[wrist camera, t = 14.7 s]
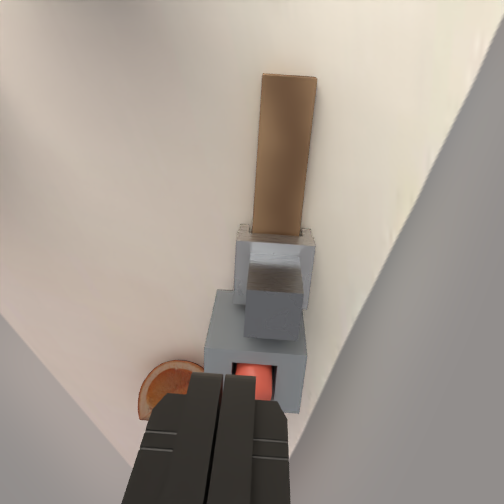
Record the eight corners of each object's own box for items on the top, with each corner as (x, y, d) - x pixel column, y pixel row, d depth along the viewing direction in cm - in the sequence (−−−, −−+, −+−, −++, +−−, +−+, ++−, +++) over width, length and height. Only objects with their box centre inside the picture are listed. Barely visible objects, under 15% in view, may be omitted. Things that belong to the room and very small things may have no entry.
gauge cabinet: (215, 340, 45) (203, 406, 37) (217, 289, 43) (204, 347, 35) (294, 346, 45) (299, 413, 37) (300, 295, 43) (307, 355, 35)
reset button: (238, 351, 42) (232, 406, 35) (240, 324, 40) (234, 377, 34) (270, 353, 42) (270, 409, 35) (273, 327, 40) (273, 380, 34)
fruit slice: (210, 341, 46) (203, 374, 41) (234, 389, 48) (230, 425, 44) (137, 362, 47) (123, 396, 43) (164, 408, 50) (154, 444, 45)
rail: (248, 287, 43) (247, 298, 41) (263, 73, 34) (262, 75, 33) (290, 290, 43) (291, 301, 41) (314, 76, 34) (317, 78, 33)
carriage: (236, 283, 42) (226, 346, 33) (239, 224, 39) (229, 275, 31) (304, 288, 42) (312, 353, 33) (312, 229, 39) (323, 282, 31)
